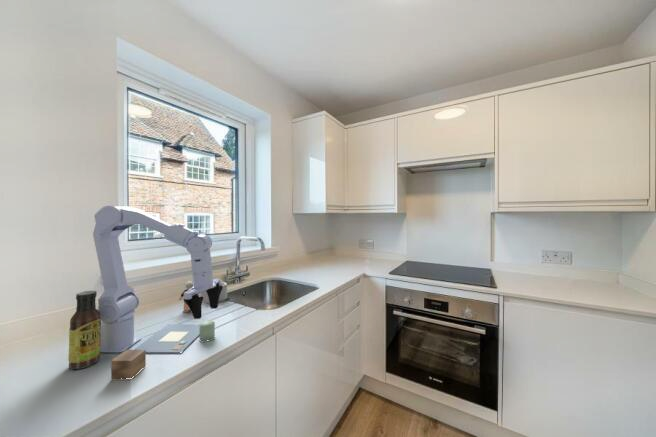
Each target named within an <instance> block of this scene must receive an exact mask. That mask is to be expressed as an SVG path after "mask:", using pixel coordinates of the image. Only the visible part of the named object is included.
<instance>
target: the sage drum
mask: <svg viewBox="0 0 656 437" xmlns="http://www.w3.org/2000/svg"><path fill="white" fill-rule="evenodd" d="M199 324H200V329H199V336H198V337H199V339H200V340H201V341H207V340H211V339H212V340H214V339H215V337H214V336H216V334H215V333H216V332H215V330H216V329H215V328H216V326H215V325H216V323H215V321H213V320H205V321H202V322H200V323H199ZM213 338H214V339H213ZM199 339H198V340H199ZM200 340H199V341H200ZM212 340H211V341H212ZM201 341H200V342H201ZM207 342H208V341H207Z"/></svg>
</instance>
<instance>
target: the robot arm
mask: <svg viewBox="0 0 656 437" xmlns="http://www.w3.org/2000/svg"><path fill="white" fill-rule="evenodd" d="M93 217H94V221H95V225H94V229H93V231H92V235H93V236H92V237H93V242H94V246H95V250H96V256H97V261H98V266H99V271H100V277H101V281H102V286H103V292H102V293H101V295H100V297H99V298H98V300H97V301H98V307H97V310H98V311H99V313H100V315H101V317H100V318H101V339H100V353H123V352H124V351H126V350H129V348H130V347H132V346H134V345H135V344H136V343H138V342H139V341H141V340H142V337H135V312H136V309H137V308H138V307H139V304H140V299H139V297H138V295H137V294H136V292H135V290H134V287H132V286H130V285H129V284H128V281H127V276H126V271H125V267H124V262H123V257H122V252H121V247H120V241H119V236H121V234H122V233H123V232H124V231H125V230H127V229H129V228H130V227H133V226H134V225H139V226H143V227H145V228H148V229H149V230H150V229H151V230H153V231H156V232H158V233H160V234H163V235H164V238H165V240H167V241H169V242H171V243H174V244H176V245H178V246H180V247H182V248H186V251H187V252H188V253H189V254H190V261H191V262H190V263H191V272H192V273H191V274H192V282H193V285H194V286H193V287H192V288H191V289H189V290H188V291H186V292H185V293H183V292H182V293H183V294H184V296H183V298H182V300H183V303H184V302H185V303H186V304H187V305H188V307H189V308H190V310H191V311H190V312H191V314H192V316H193V318H194V320H195V319H196V320H200V319H201V318H202V313H203V312H202V306H203V305H202V304H203V302H202V300H203V297H200V293H202V292H204V291H206V292H207V294H208V297H209V302H210V303H209V306H210V309H218V306H219V302H220V301H219V296H220V293H221V291H222V289H223V286H222V285H220V284H221V280H222V279H221V278H214V274H213V267H212V266H213V265H212V255H211V248H212V246H213V240H212V238H211V237H210V236H209V235H208V234H206V233H201V234H200V233H199V231H197V230H192V229H190V228H187V227H185V225H186V224H183V223H172V224H170V223H168V222H165V221H163V220H161V219H159V218H158V217H155V216H153V215H152V214H150V213H149V212H148V213H147V212H145V211H144V210H142V209H141V208H140V209H139V208H136V207H134V206H130V205H129V206H127V205H125V206H114V205H104V206H102V207H101V208H99V210H98V211H97V212H95V214H94V216H93ZM213 279H214V280H213ZM198 294H199V296H198ZM218 301H219V302H218Z"/></svg>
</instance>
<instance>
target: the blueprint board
mask: <svg viewBox="0 0 656 437" xmlns="http://www.w3.org/2000/svg"><path fill="white" fill-rule="evenodd" d="M200 324H201V323H199V324H194V323H193V324H188V323H187V324H185V323H183V324H181V323H180V324H179V323H178V324H173V323H170V324H169V323H168V324H166V325H165V326H164V327H163V328H161V329H160V330H158V331H157V332H156V333H154V334H153V335H151V336H150V337H149V338H148V339H146V340H145V341H143V342H142V343H141V344H139V345H138V346H137V347H136V348H134V349H133V350H146V354H181V353H180V352H182V351H183V352H185V351H186V349H188V347H189V346H190V345H191V344H192V343H193V342H195V340H196V339H198V337H199V329H200ZM183 352H182V353H183Z"/></svg>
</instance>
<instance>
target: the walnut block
mask: <svg viewBox="0 0 656 437" xmlns="http://www.w3.org/2000/svg"><path fill="white" fill-rule="evenodd" d="M146 354H147V353H146V350H134V349H126V350H125V351H123V352H121V353H120V354H118V355H117V356H116V357H114V358H113V359H112V360H111V361H110V363H111V364H110V365H111V366H110V372H111V374H110V378H111V379H121V378H122V379H126V378H132V377H133V376H135V375H136V374H137V373H138V372H139V371H140V370H141V369H142V368H144V367H145V366H147V365H146V356H147V355H146ZM145 368H146V367H145ZM145 368H144V369H145ZM136 376H137V375H136ZM136 376H135V377H136Z"/></svg>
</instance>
